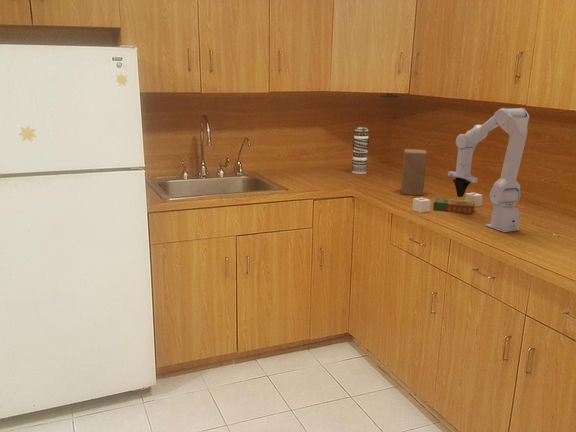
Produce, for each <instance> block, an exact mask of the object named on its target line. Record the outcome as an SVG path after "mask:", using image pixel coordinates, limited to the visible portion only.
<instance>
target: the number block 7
mask: <svg viewBox="0 0 576 432" xmlns="http://www.w3.org/2000/svg"><path fill="white" fill-rule="evenodd" d="M464 196H465V197H464V200H466V201H475V207H474V208H477V207H482V203H483V196H484V195H483V194H480V193H477V192H469V193H468V192H467V193H466V192H465V193H464Z"/></svg>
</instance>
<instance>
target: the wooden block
mask: <svg viewBox="0 0 576 432" xmlns="http://www.w3.org/2000/svg"><path fill="white" fill-rule="evenodd" d="M403 150H404V151H403V152H404V153H403V163H402V176H401V186H400V187H401V189H400V192H401V193H400V194H401V195H405V194H406V195H407V196H408V195H409V196H424V188H425V180H426V179H425V177H426V167H427V157H428V156H427V155H428V153H427V150H425V149H410V148H405V149H403Z"/></svg>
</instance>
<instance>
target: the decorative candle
mask: <svg viewBox="0 0 576 432" xmlns="http://www.w3.org/2000/svg"><path fill="white" fill-rule="evenodd" d="M369 143H370V138H369V129H368V128H367V126H365V127H364V126H357V127H355V129H354V135H353V137H352V146H353V147H352V152H353V155H352V161H351V162H352V165H351V174H352V173H353V174H356V175H357V174H359V175H360V174H361V175H364V174H366V173H368V172H367V171H368V169H367V168H368V166H367V165H368V157H367V156H368V152H369V151H368V150H369V145H368V144H369Z"/></svg>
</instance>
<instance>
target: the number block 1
mask: <svg viewBox="0 0 576 432" xmlns="http://www.w3.org/2000/svg"><path fill="white" fill-rule="evenodd" d="M431 203H432V200H431V199H428V198H425V197H415V198H413V199H412V211H414V212H417V213H419V214H422V213H430V211H431Z"/></svg>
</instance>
